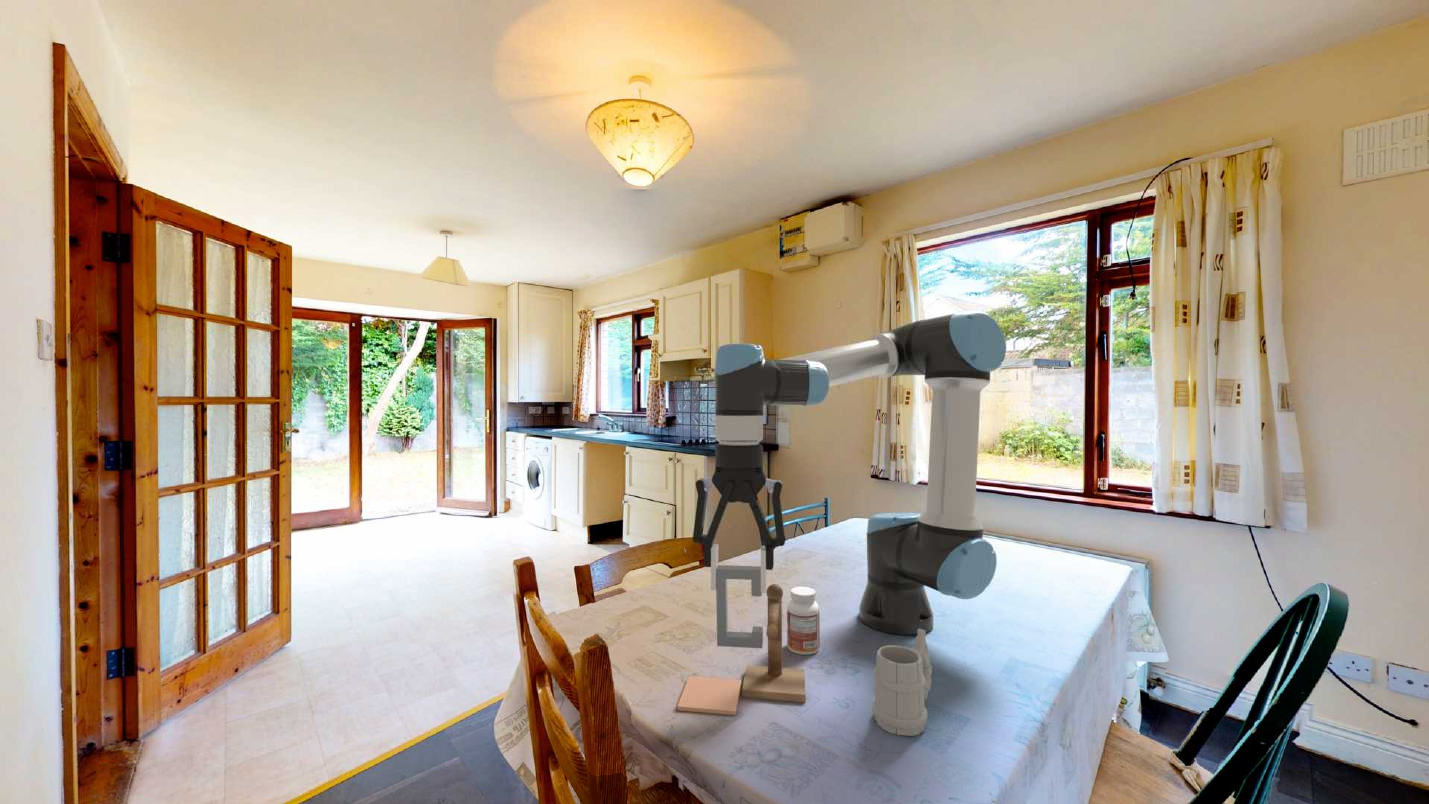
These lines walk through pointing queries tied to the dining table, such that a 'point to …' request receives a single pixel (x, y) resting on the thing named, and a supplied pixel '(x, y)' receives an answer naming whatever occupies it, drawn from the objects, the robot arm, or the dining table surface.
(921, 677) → the mug
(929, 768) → the dining table surface
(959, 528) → the robot arm
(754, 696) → the hook stand
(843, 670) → the dining table surface
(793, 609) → the pill bottle
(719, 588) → the c link
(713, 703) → the tile
